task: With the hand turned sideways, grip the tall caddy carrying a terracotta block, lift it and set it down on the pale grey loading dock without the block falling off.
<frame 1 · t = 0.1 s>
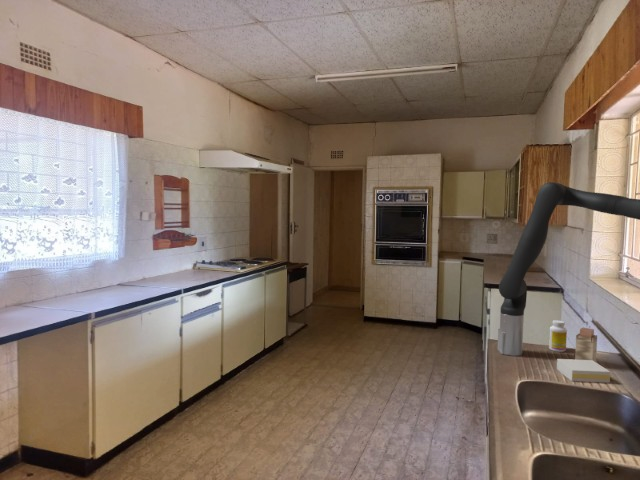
caddy: (585, 363, 175), on the countertop, touching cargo
dock: (582, 375, 162), on the countertop
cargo: (586, 339, 174), point 10 cm above the countertop, touching caddy
supplement bottle: (557, 350, 191), on the countertop
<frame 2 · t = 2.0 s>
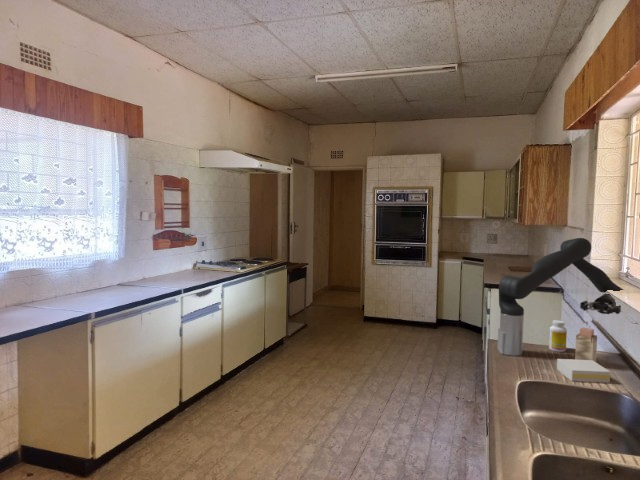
hand: (595, 310, 181), 20 cm above the countertop, tool horizontal, fingers open, 8 cm apart
nothing on the countertop moved.
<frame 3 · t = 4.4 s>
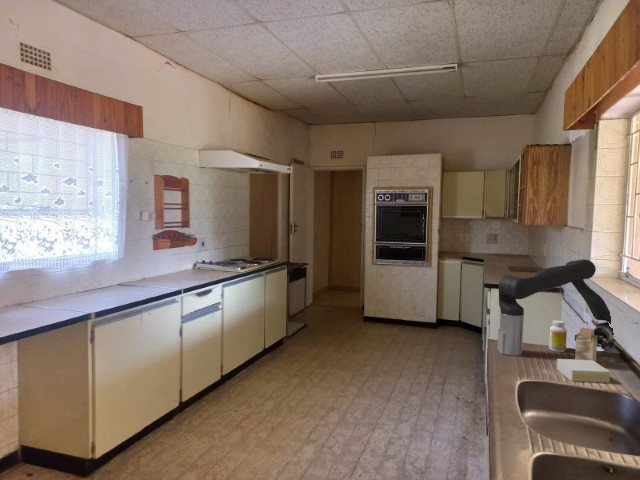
hand: (590, 343, 179), 6 cm above the countertop, tool horizontal, fingers open, 8 cm apart
nothing on the countertop moved.
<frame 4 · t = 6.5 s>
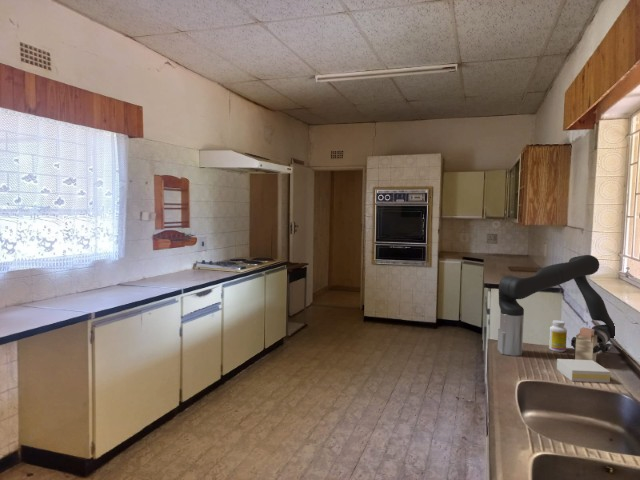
hand: (584, 348, 173), 7 cm above the countertop, tool horizontal, fingers closed on caddy, 6 cm apart
caddy: (585, 363, 175), on the countertop, touching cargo, gripper
everything else where it was.
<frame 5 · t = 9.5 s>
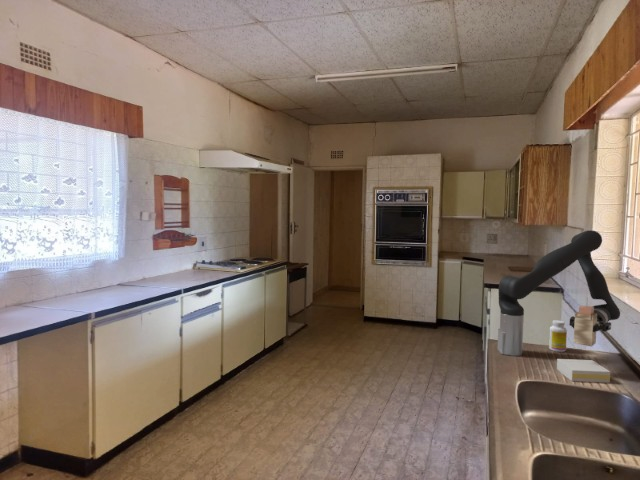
hand: (583, 327, 162), 18 cm above the countertop, tool horizontal, fingers closed on caddy, 6 cm apart
caddy: (584, 343, 165), point 11 cm above the countertop, touching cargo, gripper
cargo: (585, 317, 164), point 21 cm above the countertop, touching caddy
everything else where it was.
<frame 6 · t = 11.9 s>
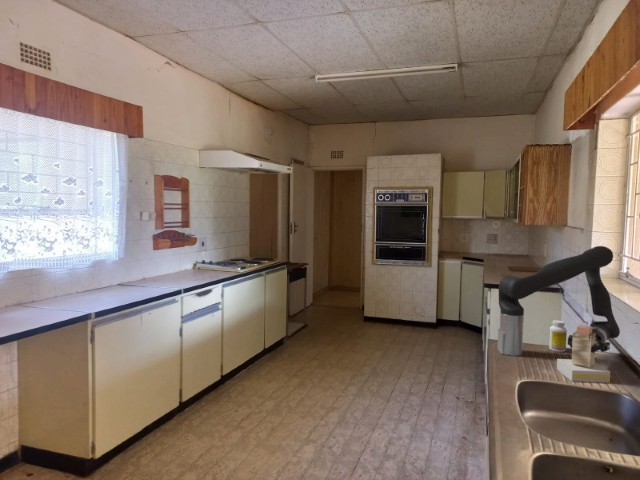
hand: (581, 347, 159), 11 cm above the countertop, tool horizontal, fingers closed on caddy, 6 cm apart
caddy: (582, 363, 161), point 5 cm above the countertop, touching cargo, gripper
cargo: (584, 337, 161), point 15 cm above the countertop, touching caddy
everything else where it was.
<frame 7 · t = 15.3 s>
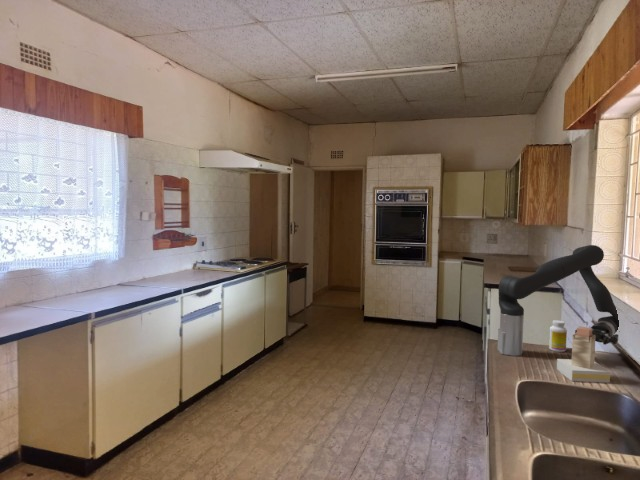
hand: (591, 339, 168), 11 cm above the countertop, tool horizontal, fingers open, 8 cm apart
caddy: (582, 365, 161), point 4 cm above the countertop, touching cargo, dock
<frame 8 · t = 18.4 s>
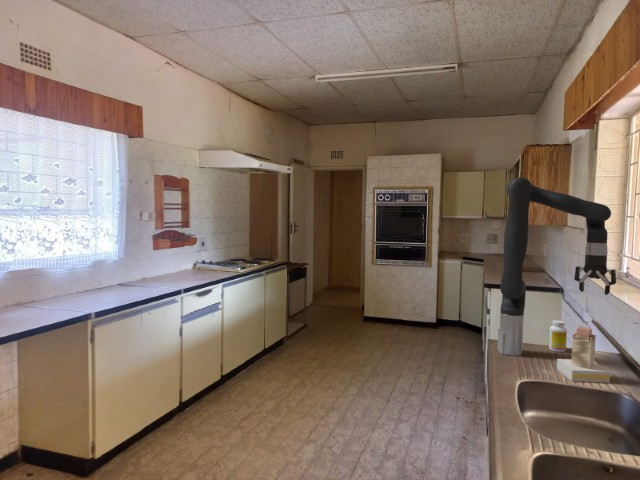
hand: (594, 293, 176), 28 cm above the countertop, tool pointing down, fingers open, 8 cm apart
nothing on the countertop moved.
at the end: caddy inside the target area on the dock (0.1 cm from its centre), point 4.0 cm above the dock's base; caddy tilted 0°; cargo 0.0 cm off-centre on the caddy, point 10.0 cm above the caddy's base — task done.
